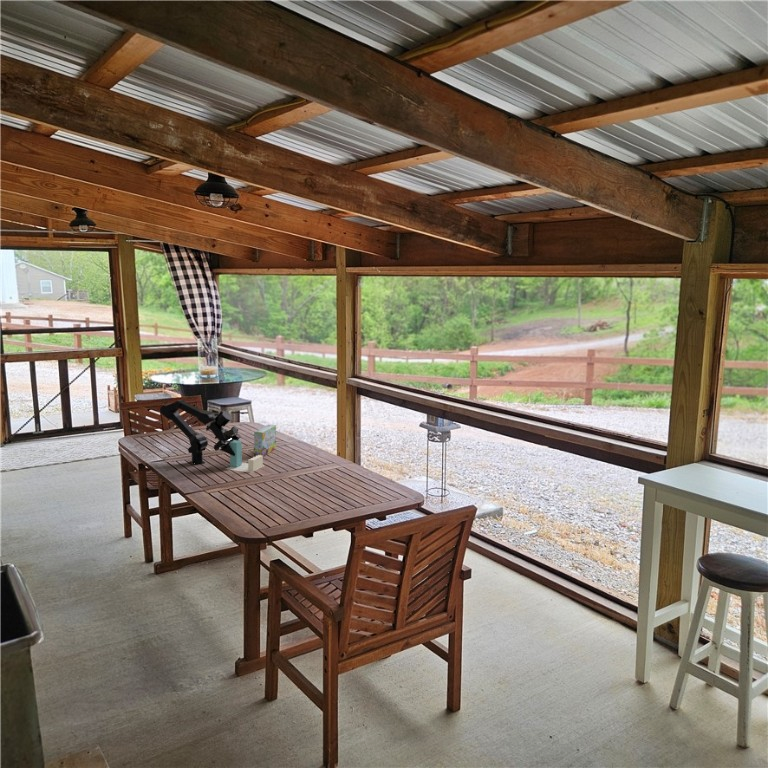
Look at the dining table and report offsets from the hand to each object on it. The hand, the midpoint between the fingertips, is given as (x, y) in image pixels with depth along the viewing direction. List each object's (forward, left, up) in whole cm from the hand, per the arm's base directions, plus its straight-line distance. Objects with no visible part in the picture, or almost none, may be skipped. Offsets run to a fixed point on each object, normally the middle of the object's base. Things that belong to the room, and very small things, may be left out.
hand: (237, 454), depth 335 cm
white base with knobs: (+4, +3, -8) cm, 9 cm away
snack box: (-19, +26, -8) cm, 33 cm away
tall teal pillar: (-1, 0, -7) cm, 7 cm away
